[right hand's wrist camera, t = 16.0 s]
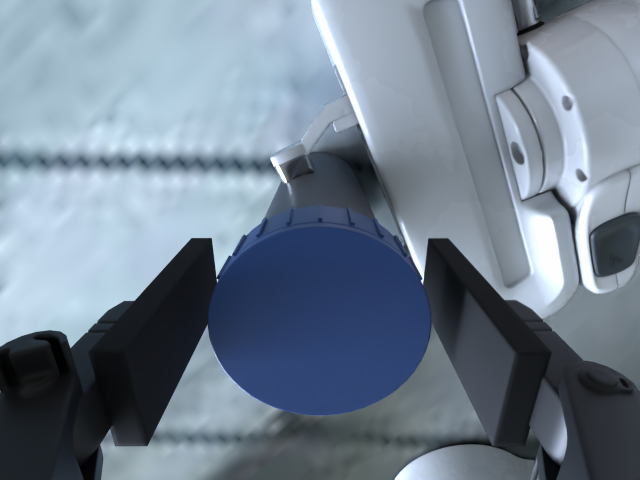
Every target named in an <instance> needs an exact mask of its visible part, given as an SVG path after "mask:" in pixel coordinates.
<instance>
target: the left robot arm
mask: <svg viewBox="0 0 640 480" xmlns="http://www.w3.org/2000/svg"><path fill="white" fill-rule="evenodd" d="M311 7H312V13H313V17H314V19H315V22H316V25H317V27H318V30H319V32H320V35H321V37H322V40H323V42H324V45H325V47H326V50H327V52H328V55H329V57H330V60H331V62H332V65H333V68H334V70H335V73H336V75H337V78H338V80H339V83H340V85H341V88H342V90H343V93H344V96H342V97H340V98H338V99H336V100H334V101H332V102H330V103H328V104H326V105H324V106H323V107H322V109H321V110H320V112H319V113H318V115H317V116H316V118H315V119H314V120H313V122H312V123H311V125H310V126H309V128H308V129H307V131H306V132H305V134H304V135H303V137H302V139H301V141H298V142H296V143H294V144H292V145H290V146H288V147H286V148H284V149H282V150H279V151H278V152H276V153H274V154H273V155H272V156H271V157H270V159H271V161H272V163H273V166H274V167H275V169H276V171H277V173H278V175H279V177H280V179H281V181H282V183H287V182H290V181H291V180H293V179H294V178H295V177H296V175H299V176H302V175H304V174H307V173H309V172H312V171H314V163H313V161H312V159H311V156H310V154H309V153H310V152H311V150H312V149H313V147H314V146H315V144H316V143H317V142H318V140H319V139H320V137H321V136H322V135H323V133H324V132H325V130H326V129H327V127H328V126H329V125H330V123H331V122H332V124H333V127H334V129H335V131H336V132H338V133H340V132H342V131H344V130H346V129H348V128H351V127H353V126H355V125H357V128H358V130H359V133H360V136H361V138H362V141H363V143H364V146H365V148H366V151H367V153H368V156H369V158H370V161H371V163H372V166H373V168H374V171H375V173H376V176H377V178H378V181H379V183H380V186H381V188H382V191H383V193H384V196H385V198H386V201H387V203H388V206H389V209H390V211H391V214H392V216H393V219H394V221H395V224H396V226H397V229H398V231H399V234H400V236H401V239H402V241H403V244H404V246H403V248H404V249H405V251H406V253H407V255H408V257H410V256H411V258H412V260H413V262H414V263H415V265H416V267H417V269H418V270H419V272H420V274H421V276H422V278H423V279H424V271H425V262H426V254H427V245H428V238H449V239H450V241H451V242H452V243H453V244H454V245H455V246H456V247H457V248H458V249H459V250H460V252H461V253H462V254H463V255H464V256H465V257H466V258H467V259H468V260H469V261H470V263H471V264H472V265H473V266H474V267H475V268H476V269H477V270H478V271H479V272H480V274H481V275H482V276H483V277H484V278H485V279H486V280H487V281H488V282H489V284H490V285H491V286H492V287H493V288H494V289H495V290H496V291H497V292H498V293H499V295H500V296H501V297H502V298H503V299H504V300H517V301H519V302H520V303H522V304H524V305H526V306H527V307H529V308H531V309H532V310H533V311H534V312H535V313H536V314H537V315H538V316H539V317H540V318H541V319H544V318H546V317H548V316H550V315H552V314H554V313H556V312H557V311H559V310H560V309H562V308H563V307H564V306H565V305H566V304H568V303H569V302H570V300H571V299H572V298H573V296H574V295H575V293H576V291H577V288H578V284H580V285H582V286H583V287H585V288H587V289H589V290H590V291H592V292H594V293H599V294H600V293H607V292H611V291H614V290H616V289H619V288H621V287H623V286H625V285H627V284H628V283H629V282H630V281H631V280H632V279H633V277H634V275H635V272H636V269H637V265H638V261H639V256H640V0H591V1H589V2H587V3H584V4H582V5H580V6H578V7H576V8H574V9H572V10H570V11H568V12H566V13H563V14H561V15H559V16H557V17H555V18H553V19H551V20H548V21H546V22H542V21H541V16H540V11H539V6H538V1H537V0H311ZM421 282H422V284H423V280H421ZM534 462H535V460H528V459H522V458H519V457H517V456H515V455H513V454H511V453H509V452H507V451H505V450H502V449H499V448H496V447H492V446H486V445H477V444H465V445H455V446H449V447H445V448H441V449H438V450H435V451H432V452H429V453H427V454H425V455H423V456H421V457H419V458H417V459H416V460H414V461H413V462H411V463H410V464H408V465H407V466H406V467H405V468H404V469H403V470H402V471H401V472H400V473H399V474H398V475H397V477H396V478H395V480H530V476H531V472H532V469H533V465H534ZM536 480H539V475H538V476H537V479H536Z"/></svg>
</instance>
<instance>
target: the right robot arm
mask: <svg viewBox="0 0 640 480" xmlns="http://www.w3.org/2000/svg"><path fill="white" fill-rule="evenodd" d="M216 284H217V279H216V271H215V262H214V254H213V245H212V238H191V239H190V241H189V242H188V243H187V244H186V245H185V246H184V247H183V248H182V249H181V250H180V252H179V253H178V254H177V255H176V256H175V257H174V258H173V259H172V260H171V261H170V263H169V264H168V265H167V266H166V267H165V268H164V269H163V270H162V271H161V272H160V274H159V275H158V276H157V277H156V278H155V279H154V280H153V281H152V282H151V284H150V285H149V286H148V287H147V288H146V289H145V290H144V291H143V292H142V293H141V295H140V296H139V297H138V298H137V299H136V300H135V301H124V302H122V303H120V304H118V305H117V306H115V307H113V308H112V309H110V310H108V311H107V312H106V313H105V314H104V315H103V316H102V317H101V318H100V319H99V320H98V321H97V324H94V325H93V326H92V327H91V328H90V329H89V330H88V333H85V334H84V335H83V336H82V337H81V338H80V339H79V340H78V341H77V342H76V343H75V344H74V345H73V346H72V347H71V348H70V346H69V343H68V340H67V336H66V335H65V334H63V333H62V332H60V331H51V330H49V331H40V332H35V333H31V334H28V335H24V336H21V337H19V338H16V339H14V340H12V341H10V342H7V343H6V344H4V345H3V346H1V347H0V391H1V392H0V480H101V474H102V466H103V454H102V449H101V446H100V443H101V442H102V440H103V439H104V437H105V436H106V434H107V432H108V431H109V429H110V430H111V433H112V437H113V440H114V444H115V446H148V444H149V442H150V440H151V437H152V435H153V433H154V431H155V429H156V427H157V425H158V423H159V421H160V419H161V417H162V415H163V413H164V411H165V409H166V407H167V405H168V403H169V401H170V399H171V397H172V395H173V393H174V391H175V389H176V387H177V385H178V383H179V381H180V379H181V377H182V375H183V373H184V371H185V369H186V367H187V365H188V363H189V361H190V359H191V357H192V355H193V353H194V351H195V349H196V346H197V344H198V342H199V340H200V338H201V336H202V334H203V332H204V330H205V328H206V326H207V324H208V310H209V305H210V299H211V297H212V294H213V291H214V288H215V286H216ZM423 286H424V288H425V290H426V293H427V296H428V299H429V302H430V309H431V322H432V324H433V326H434V328H435V330H436V332H437V334H438V336H439V338H440V340H441V342H442V344H443V346H444V349H445V351H446V353H447V355H448V357H449V359H450V361H451V363H452V365H453V367H454V369H455V371H456V373H457V375H458V377H459V379H460V381H461V383H462V385H463V387H464V389H465V391H466V393H467V395H468V397H469V399H470V401H471V403H472V405H473V407H474V409H475V411H476V413H477V415H478V417H479V419H480V421H481V423H482V425H483V427H484V429H485V431H486V433H487V435H488V437H489V440H490V442H491V444H492V446H525V444H526V440H527V437H528V433H529V430H530V427H531V429H532V430H533V432H534V434H535V435H536V437H537V438H538V440H539V441H540V446H539V449H538V453H537V456H536V459H535V462H534V465H533V469H532V472H531V476H530V480H536V479H537V476H538V475H539V480H640V391H639V390H638V389H637V388H636V386H635V385H634V384H633V382H631V381H630V380H629V379H627V378H626V377H625V376H623V375H622V374H621V373H619V372H617V371H615V370H613V369H611V368H609V367H607V366H604V365H600V364H597V363H594V362H589V361H583V360H582V359H581V358H580V357H579V356H578V355H577V354H576V353H575V352H574V351H573V350H572V349H571V348H570V347H569V346H568V345H567V344H566V343H565V342H564V341H563V340H562V339H561V338H560V337H559V336H558V335H557V334H556V333H555V332H552V329H551V328H550V327H549V326H548V325H547V324H546V323H545V322H543V320H542V319H541V318H540V317H539V316H538V315H537V314H536V313H535V312H534V311H533V310H532V309H531V308H529V307H527V306H526V305H524V304H522V303H520V302H519V301H517V300H504V299H503V298H502V297H501V296H500V295H499V293H498V292H497V291H496V290H495V289H494V288H493V287H492V286H491V285H490V284H489V282H488V281H487V280H486V279H485V278H484V277H483V276H482V275H481V274H480V272H479V271H478V270H477V269H476V268H475V267H474V266H473V265H472V264H471V263H470V261H469V260H468V259H467V258H466V257H465V256H464V255H463V254H462V253H461V252H460V250H459V249H458V248H457V247H456V246H455V245H454V244H453V243H452V242H451V241H450V239H449V238H428V245H427V254H426V262H425V271H424V279H423Z"/></svg>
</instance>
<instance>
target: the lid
mask: <svg viewBox="0 0 640 480" xmlns="http://www.w3.org/2000/svg"><path fill="white" fill-rule="evenodd" d="M217 279H219V281H218V282H217V284H216V286H215V288H214V291H213V294H212V297H211V299H210V305H209V310H208V330H209V338H210V341H211V345H212V348H213V351H214V353H215V355H216V357H217V360H218V361H219V363H220V364H221V366H222V368H223V369H224V371H225V372H226V373H227V374H228V376H229V377H230V378H231V379H232V380H233V381H234V382H235V383H236V384H237V385H238V386H239V387H240V388H241V389H243V390H244V391H245V392H247V393H248V394H250V395H251V396H253V397H254V398H256V399H258V400H260V401H261V402H263V403H266V404H268V405H270V406H272V407H275V408H278V409H281V410H284V411H288V412H293V413H298V414H306V415H334V414H341V413H347V412H352V411H355V410H358V409H361V408H364V407H367V406H369V405H372V404H374V403H376V402H378V401H380V400H382V399H383V398H385V397H387V396H388V395H390V394H391V393H393V392H394V391H395V390H397V389H398V388H399V387H400V386H401V385H402V384H403V383H404V382H406V381H407V379H408V378H409V377H410V376H411V375H412V374H413V372H414V371H415V370H416V368H417V366H418V365H419V363H420V362H421V360H422V358H423V356H424V354H425V351H426V349H427V345H428V342H429V339H430V332H431V309H430V302H429V299H428V296H427V293H426V290H425V288H424V286H423V284H422V282H421V280H423V278H422V276H421V274H420V272H419V270H418V269H417V267H416V265H415V263H414V262H413V260H412V258H411V256H410V257H408V255H407V253H406V251H405V249H404V248H403V246H402V244H401V242H400V240H399V239H398V237H397V236H396V235H395V236H393V235H392V234H391V233H390V232H389V231H388V230H386V229H385V228H384V227H382V226H381V225H380V224H379V223H378V221H377V219H375V218H374V219H373V220H372V219H370V218H368V217H367V216H364V215H362V214H359V213H357V212H354V211H352V210H351V208H349V207H348V208H347V209H343V208H338V207H331V206H322V204H318V206H309V207H300V208H296V209H293V207H290V208H289V210H288V211H285V212H283V213H280V214H277V215H275V216H273V217H271V218H269V219H267V218H264V219H263V221H262V223H261V224H260V225H258V226H257V227H256V228H254V229H253V230H252V231H251V232H250V233H249V234H248V235H247V236H246V235H243V236H242V238H241V240H240V241H239V243H238V245H237V247H236V249H235V250H234V252H233V254H232V256H229V257H228V259H227V260H226V262H225V264H224V266H223V267H222V269H221V271H220V273H219V274H218V276H217Z"/></svg>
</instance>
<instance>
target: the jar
mask: <svg viewBox="0 0 640 480" xmlns="http://www.w3.org/2000/svg"><path fill="white" fill-rule="evenodd" d="M309 154H310V156H311V159H312V161H313V163H314V171H312V172H309V173H307V174H304V175H302V176H299V175H296V177H295V178H294V179H293V180H291V181H290V182H287V183H282V181H281V183H280V185H279V187H278V190H277V192H276V194H275V196H274V198H273V200H272V203H271V205H270V207H269V209H268V211H267V214H266V216H265V218H267V219H269V218H271V217H273V216H275V215H277V214H280V213H283V212H285V211H288V210H289V208H290V207H293V209H296V208H300V207H309V206H318V204H322V206H331V207H338V208H343V209H347V208H348V207H349V208H351V210H352V211H354V212H357V213H359V214H362V215H364V216H367V217H368V218H370V219H372V220H373V219H374V218H375V217H374V214H373V212H372V210H371V208H370V206H369V203H368V201H367V199H366V197H365V194H364V192H363V190H362V188H361V186H360V183H359V181H358V179H357V177H356V175H355V173H354V171H353V169H352V168H351V167H350V165H349V164H348V163H347V162H346V161H344V160H343V159H342V158H340V157H338V156H336V155H334V154H331V153H326V152H314V153H309Z"/></svg>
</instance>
